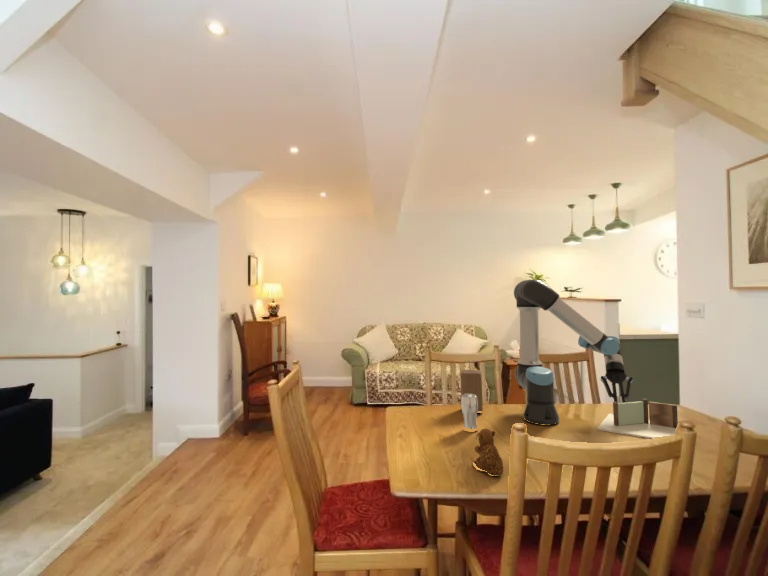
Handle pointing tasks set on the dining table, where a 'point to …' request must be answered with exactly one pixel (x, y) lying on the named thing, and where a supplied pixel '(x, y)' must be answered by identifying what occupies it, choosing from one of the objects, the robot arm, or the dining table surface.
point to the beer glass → (469, 410)
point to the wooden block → (472, 385)
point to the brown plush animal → (488, 453)
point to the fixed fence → (660, 414)
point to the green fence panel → (628, 413)
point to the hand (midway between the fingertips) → (620, 411)
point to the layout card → (636, 429)
